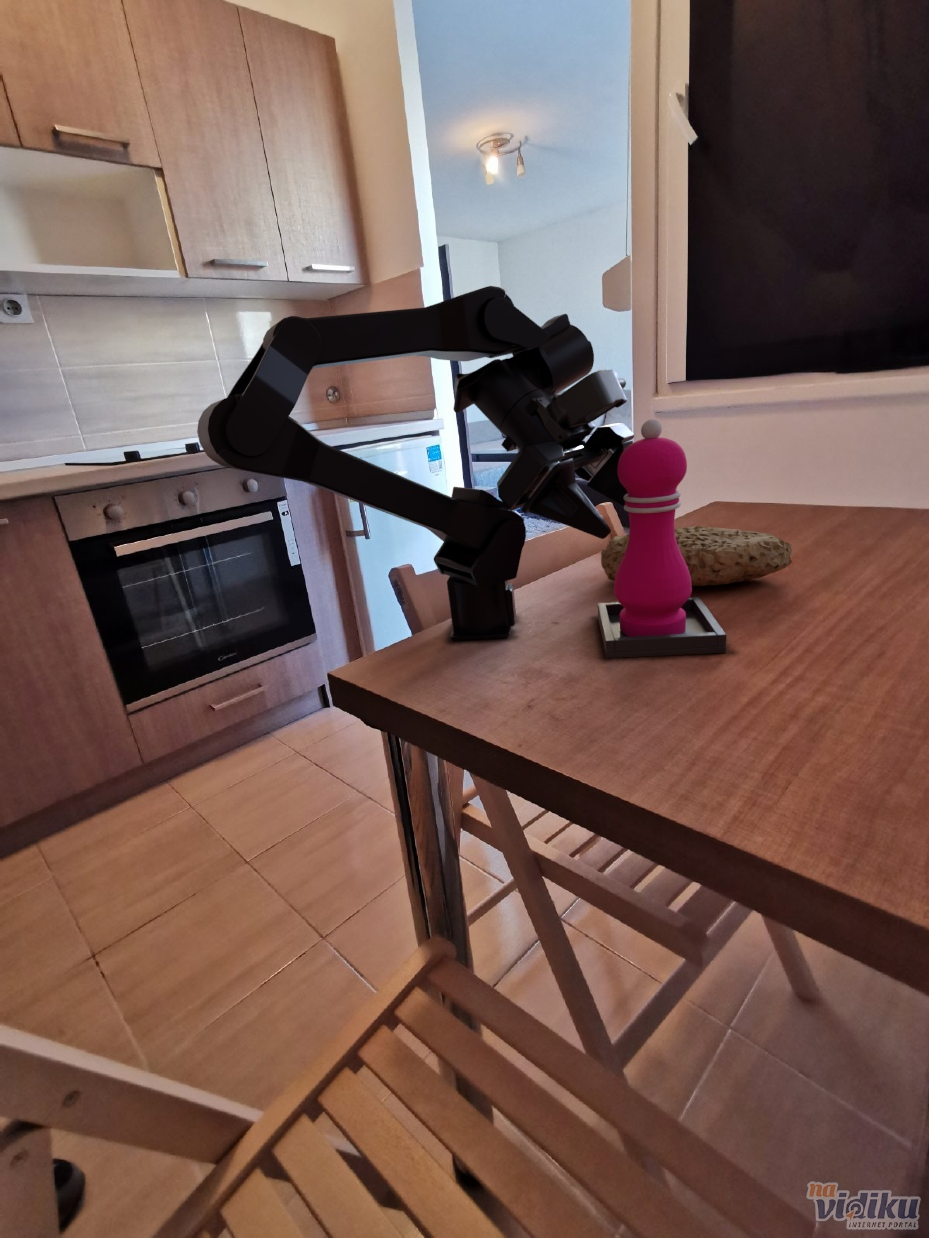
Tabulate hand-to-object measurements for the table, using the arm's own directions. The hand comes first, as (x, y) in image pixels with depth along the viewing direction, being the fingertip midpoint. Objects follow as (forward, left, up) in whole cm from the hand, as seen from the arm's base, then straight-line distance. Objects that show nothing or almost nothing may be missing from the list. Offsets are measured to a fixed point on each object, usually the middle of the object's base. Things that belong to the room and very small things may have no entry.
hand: (628, 523), depth 56 cm
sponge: (+9, +15, -11) cm, 21 cm away
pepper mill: (+2, -1, -11) cm, 11 cm away
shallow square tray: (+2, -1, -11) cm, 12 cm away
